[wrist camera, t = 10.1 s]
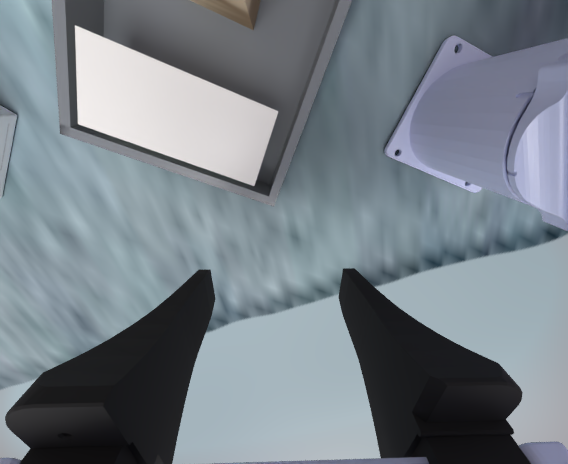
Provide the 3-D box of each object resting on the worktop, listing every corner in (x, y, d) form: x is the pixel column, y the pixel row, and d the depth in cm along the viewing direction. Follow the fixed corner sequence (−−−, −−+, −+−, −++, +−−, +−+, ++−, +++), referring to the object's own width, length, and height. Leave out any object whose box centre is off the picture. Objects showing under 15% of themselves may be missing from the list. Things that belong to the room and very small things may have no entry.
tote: (387, -116, 12) (425, -194, 9) (274, 191, 20) (274, 206, 17) (102, -311, 10) (18, -514, 6) (99, 129, 17) (60, 133, 14)
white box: (278, 111, 16) (278, 111, 13) (258, 171, 18) (254, 186, 15) (124, 46, 15) (74, 25, 11) (120, 121, 17) (78, 124, 13)
